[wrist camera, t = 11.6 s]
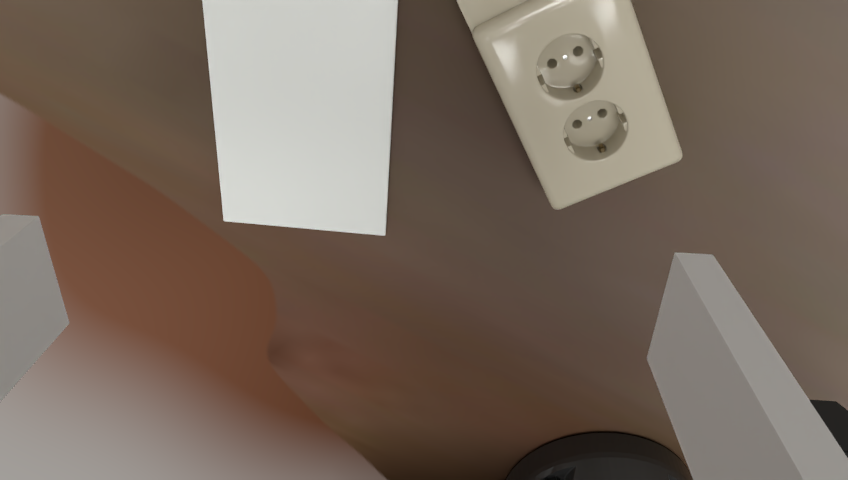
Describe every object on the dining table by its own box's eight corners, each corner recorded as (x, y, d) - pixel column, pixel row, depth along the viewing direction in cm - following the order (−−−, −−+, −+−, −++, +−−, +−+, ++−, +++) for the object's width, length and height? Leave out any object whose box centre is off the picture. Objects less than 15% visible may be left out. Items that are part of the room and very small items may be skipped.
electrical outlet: (557, -222, 25) (687, 161, 33) (546, -213, 29) (665, 132, 37) (396, -125, 27) (554, 215, 35) (403, -128, 31) (546, 182, 39)
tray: (386, 231, 40) (385, 235, 40) (226, 217, 40) (223, 221, 40) (398, -4, 33) (397, -2, 33) (203, -22, 33) (200, -20, 33)
